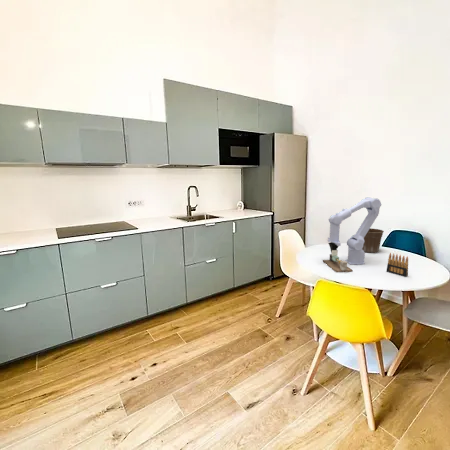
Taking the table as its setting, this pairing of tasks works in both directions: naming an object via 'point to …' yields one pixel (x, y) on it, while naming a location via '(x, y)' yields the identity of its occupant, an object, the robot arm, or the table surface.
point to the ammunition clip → (397, 265)
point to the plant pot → (372, 240)
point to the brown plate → (337, 265)
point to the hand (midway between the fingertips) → (333, 253)
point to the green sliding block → (335, 255)
